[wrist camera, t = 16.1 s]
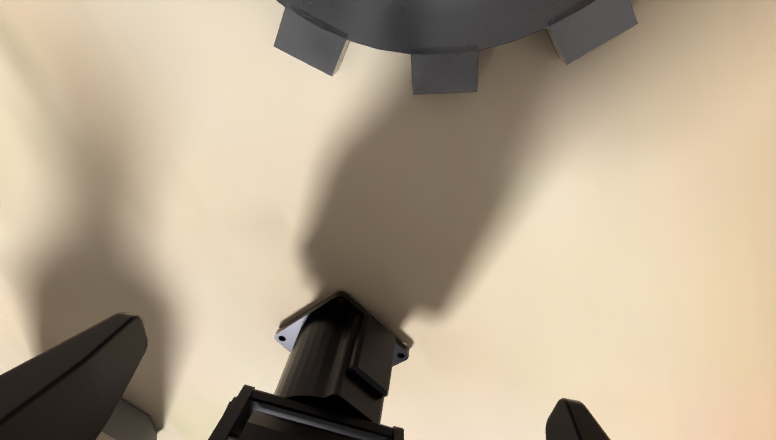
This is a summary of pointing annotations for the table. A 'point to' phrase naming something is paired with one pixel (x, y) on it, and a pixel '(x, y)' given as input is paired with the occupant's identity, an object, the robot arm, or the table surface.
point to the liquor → (128, 424)
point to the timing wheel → (444, 32)
